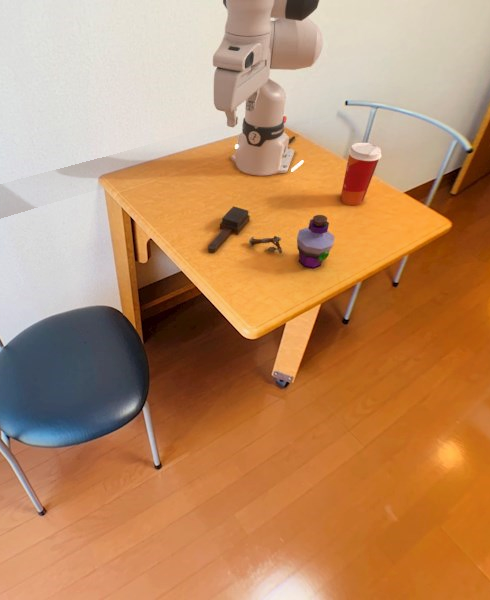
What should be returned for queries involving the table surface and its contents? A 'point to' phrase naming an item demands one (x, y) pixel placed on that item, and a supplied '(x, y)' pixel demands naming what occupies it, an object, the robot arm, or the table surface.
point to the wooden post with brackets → (267, 240)
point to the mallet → (230, 227)
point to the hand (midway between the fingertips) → (241, 117)
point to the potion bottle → (314, 242)
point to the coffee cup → (359, 172)
